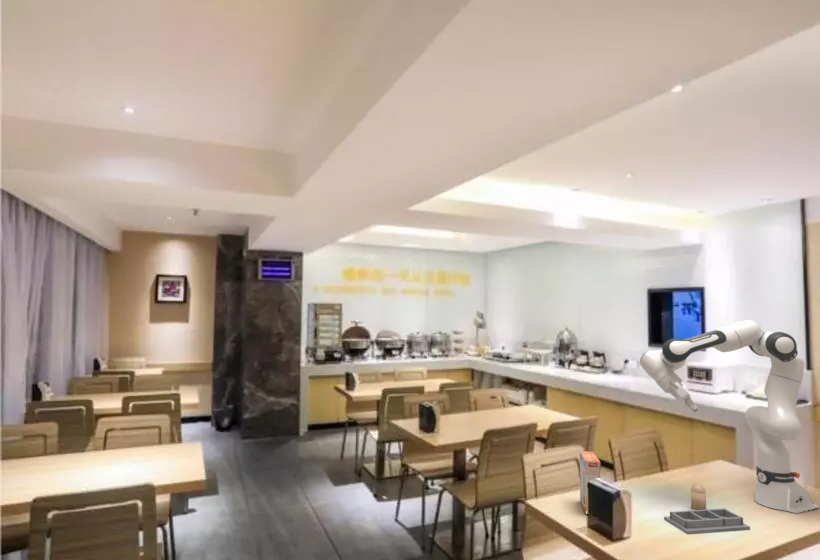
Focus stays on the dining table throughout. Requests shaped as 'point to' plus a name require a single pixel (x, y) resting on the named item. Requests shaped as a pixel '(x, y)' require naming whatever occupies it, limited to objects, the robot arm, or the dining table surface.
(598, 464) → the cracker box
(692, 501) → the tan domed cylinder
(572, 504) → the dining table surface
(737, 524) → the grey compartment tray
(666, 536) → the dining table surface
